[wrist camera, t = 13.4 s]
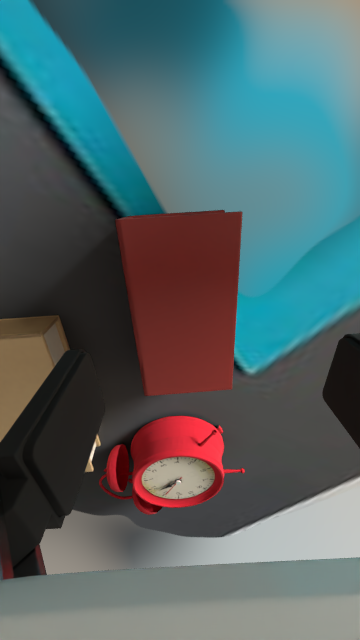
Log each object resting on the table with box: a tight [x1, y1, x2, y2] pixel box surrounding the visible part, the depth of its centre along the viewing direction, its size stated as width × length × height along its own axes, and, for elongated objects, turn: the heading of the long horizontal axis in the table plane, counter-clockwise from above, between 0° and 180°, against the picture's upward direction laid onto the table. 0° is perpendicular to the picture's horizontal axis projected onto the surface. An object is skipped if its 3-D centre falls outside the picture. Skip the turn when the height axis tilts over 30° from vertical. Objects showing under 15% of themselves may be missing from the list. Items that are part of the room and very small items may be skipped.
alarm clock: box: [99, 416, 244, 515], centre depth 25 cm, size 10×6×15 cm
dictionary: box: [115, 210, 242, 396], centre depth 16 cm, size 12×6×4 cm, turn 3°
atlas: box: [0, 315, 100, 472], centre depth 21 cm, size 16×12×3 cm
